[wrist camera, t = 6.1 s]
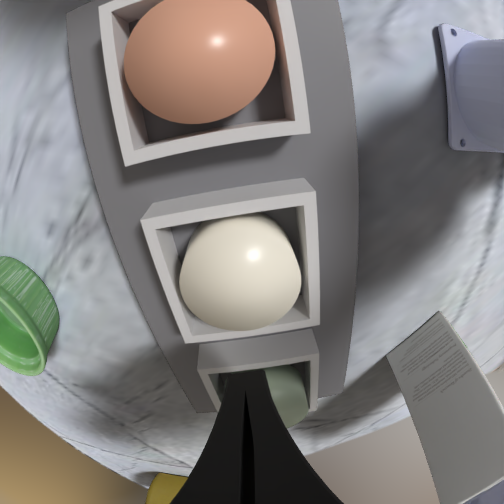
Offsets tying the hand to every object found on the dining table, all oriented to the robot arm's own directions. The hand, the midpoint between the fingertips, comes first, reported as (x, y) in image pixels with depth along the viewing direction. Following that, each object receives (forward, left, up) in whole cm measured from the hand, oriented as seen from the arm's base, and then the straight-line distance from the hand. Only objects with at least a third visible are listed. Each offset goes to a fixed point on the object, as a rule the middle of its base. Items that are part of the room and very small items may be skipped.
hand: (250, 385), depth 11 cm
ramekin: (+18, -1, -8) cm, 20 cm away
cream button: (0, -3, -5) cm, 6 cm away
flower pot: (+19, +39, -8) cm, 44 cm away
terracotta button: (0, -12, -5) cm, 13 cm away
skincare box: (-15, +11, -8) cm, 20 cm away
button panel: (0, -3, -8) cm, 8 cm away
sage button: (0, +6, -4) cm, 8 cm away
